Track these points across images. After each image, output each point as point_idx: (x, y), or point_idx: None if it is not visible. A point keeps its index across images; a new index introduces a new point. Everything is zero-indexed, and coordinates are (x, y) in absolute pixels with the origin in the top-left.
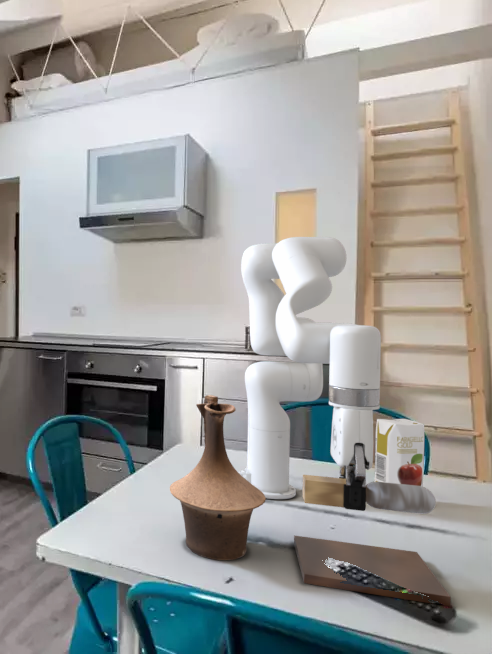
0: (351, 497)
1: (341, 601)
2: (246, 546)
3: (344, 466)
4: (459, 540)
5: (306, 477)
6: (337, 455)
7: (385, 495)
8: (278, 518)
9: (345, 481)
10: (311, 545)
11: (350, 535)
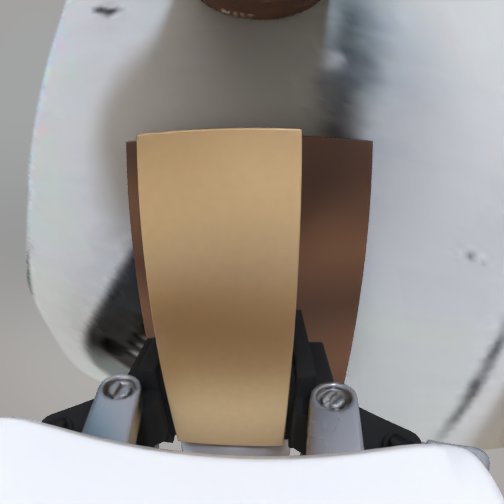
0: (139, 357)
1: (91, 209)
2: (253, 14)
3: (306, 453)
4: (423, 433)
5: (210, 147)
6: (11, 480)
7: None
8: (495, 140)
9: (220, 390)
10: (315, 176)
11: (439, 287)
